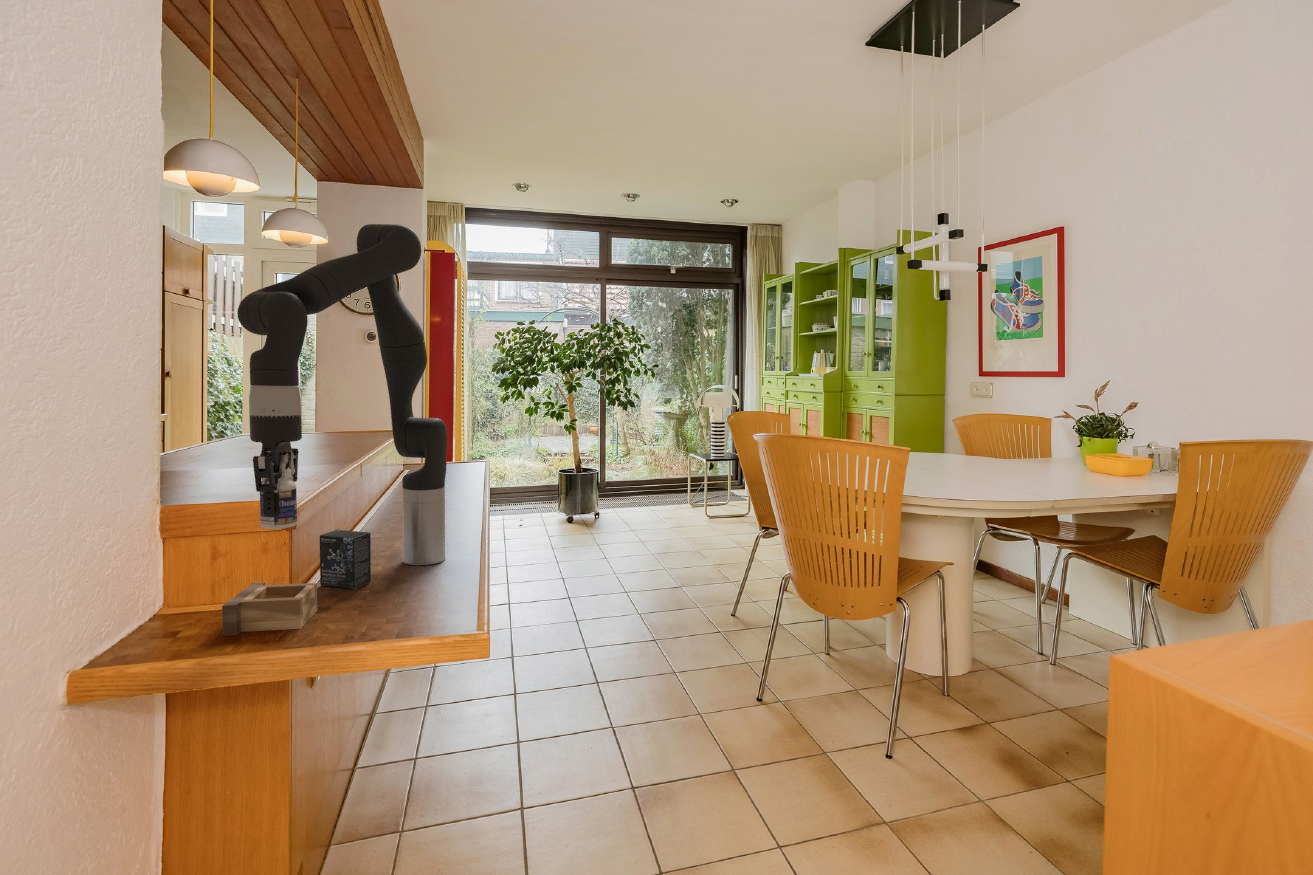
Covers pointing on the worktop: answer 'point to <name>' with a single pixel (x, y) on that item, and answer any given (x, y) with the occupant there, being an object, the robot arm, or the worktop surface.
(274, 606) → the light brown wooden tray
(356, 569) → the box
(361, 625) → the worktop surface
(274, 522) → the pill bottle
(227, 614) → the plank
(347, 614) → the worktop surface
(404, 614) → the worktop surface
